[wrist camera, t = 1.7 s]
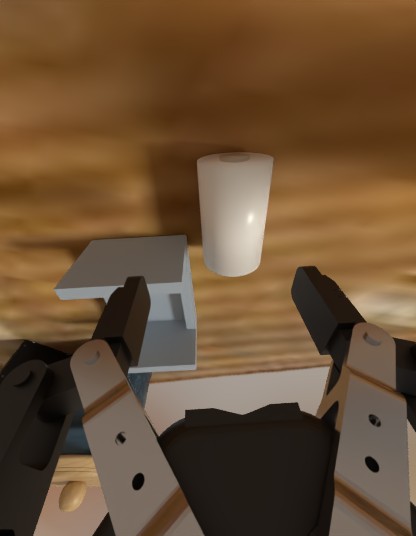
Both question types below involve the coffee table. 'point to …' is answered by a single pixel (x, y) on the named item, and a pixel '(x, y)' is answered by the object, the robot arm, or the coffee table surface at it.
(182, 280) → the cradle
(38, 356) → the long black block
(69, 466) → the canister
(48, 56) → the coffee table surface
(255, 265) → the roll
